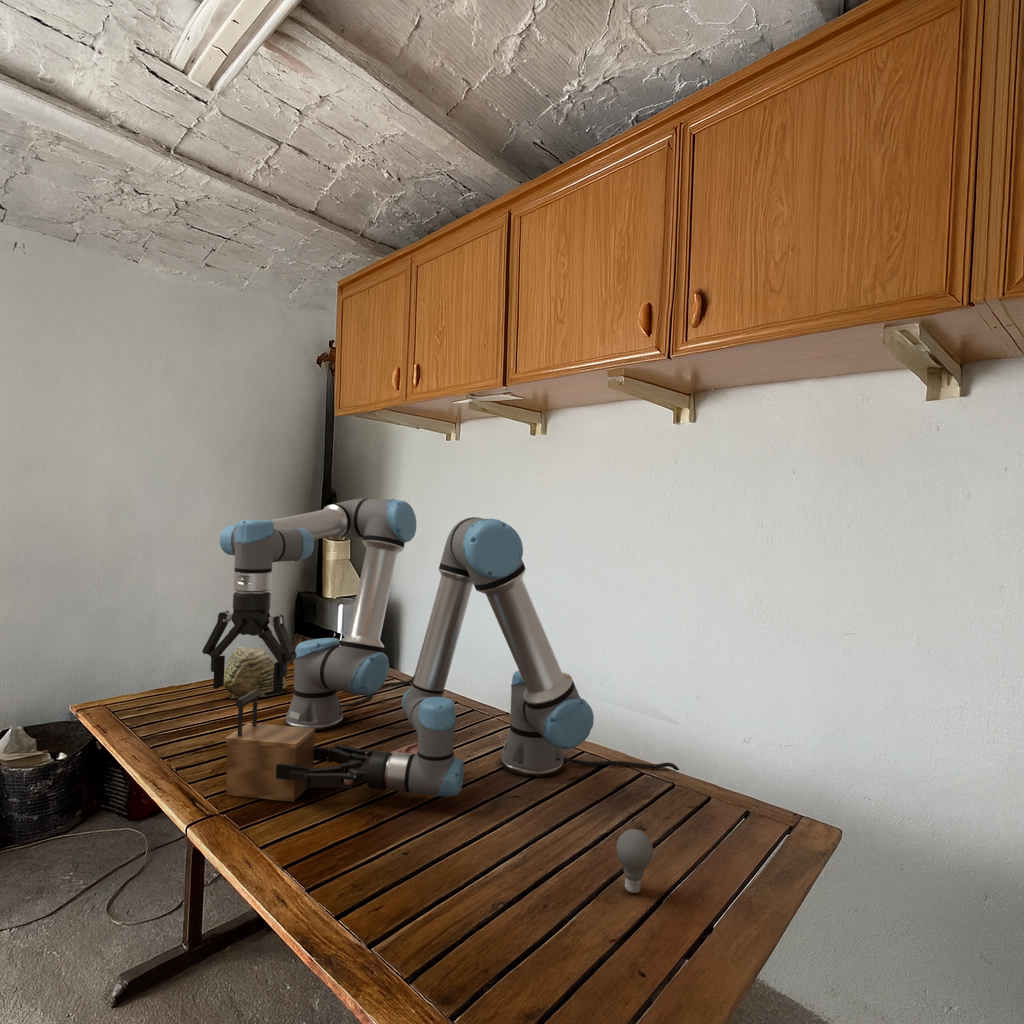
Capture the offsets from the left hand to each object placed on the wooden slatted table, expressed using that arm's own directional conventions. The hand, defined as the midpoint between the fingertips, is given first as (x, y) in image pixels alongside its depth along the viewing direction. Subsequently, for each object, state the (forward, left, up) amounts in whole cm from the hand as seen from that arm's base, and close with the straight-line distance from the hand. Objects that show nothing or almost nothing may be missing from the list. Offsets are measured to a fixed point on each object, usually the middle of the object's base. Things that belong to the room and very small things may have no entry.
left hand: (247, 689), depth 137 cm
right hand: (-5, +8, -15) cm, 18 cm away
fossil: (-34, -56, -21) cm, 69 cm away
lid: (-3, +5, -10) cm, 11 cm away
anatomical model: (-31, +14, -21) cm, 40 cm away
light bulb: (-24, +80, -21) cm, 87 cm away
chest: (-3, +5, -21) cm, 22 cm away
